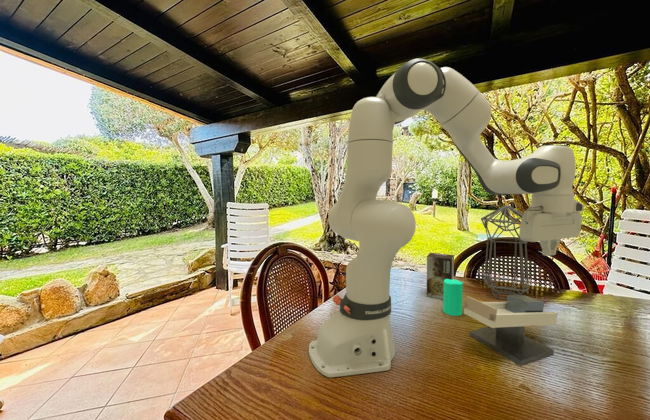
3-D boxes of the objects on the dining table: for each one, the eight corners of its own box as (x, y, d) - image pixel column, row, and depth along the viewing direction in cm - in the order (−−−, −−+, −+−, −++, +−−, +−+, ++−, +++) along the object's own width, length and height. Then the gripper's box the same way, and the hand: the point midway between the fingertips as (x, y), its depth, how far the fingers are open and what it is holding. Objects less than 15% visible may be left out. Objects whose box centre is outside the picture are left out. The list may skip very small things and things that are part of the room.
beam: (492, 327, 63) (494, 308, 62) (463, 313, 70) (466, 296, 70) (555, 324, 71) (558, 307, 71) (524, 311, 78) (526, 296, 78)
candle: (464, 316, 87) (465, 280, 86) (445, 315, 88) (445, 279, 87) (459, 308, 92) (460, 274, 91) (441, 307, 94) (441, 273, 93)
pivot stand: (520, 365, 62) (521, 339, 62) (469, 335, 76) (470, 313, 75) (553, 354, 66) (555, 329, 66) (499, 327, 80) (500, 306, 79)
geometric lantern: (485, 300, 99) (486, 206, 97) (479, 286, 114) (480, 204, 112) (537, 306, 93) (539, 206, 91) (523, 291, 107) (525, 204, 106)
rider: (524, 317, 69) (526, 302, 69) (505, 309, 73) (507, 295, 73) (542, 316, 71) (544, 302, 71) (522, 309, 76) (524, 295, 76)
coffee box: (453, 295, 104) (455, 254, 102) (451, 301, 98) (452, 258, 97) (429, 291, 109) (430, 252, 107) (425, 296, 103) (426, 255, 102)
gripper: (539, 207, 67) (536, 261, 68) (588, 204, 74) (584, 254, 75) (513, 206, 73) (511, 256, 74) (561, 203, 80) (558, 249, 81)
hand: (548, 255), depth 74 cm, fingers closed
